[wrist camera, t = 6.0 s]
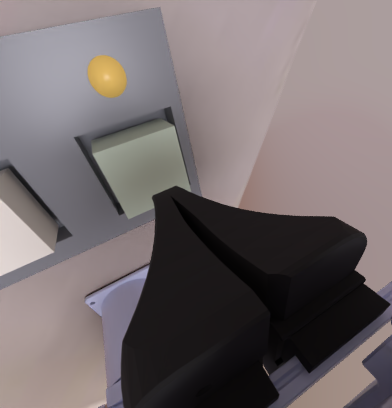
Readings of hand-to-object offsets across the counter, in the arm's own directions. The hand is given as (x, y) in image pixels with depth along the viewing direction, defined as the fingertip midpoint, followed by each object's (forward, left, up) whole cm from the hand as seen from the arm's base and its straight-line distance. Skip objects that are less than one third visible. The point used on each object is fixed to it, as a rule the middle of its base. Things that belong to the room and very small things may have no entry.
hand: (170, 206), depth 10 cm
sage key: (0, 0, -7) cm, 7 cm away
